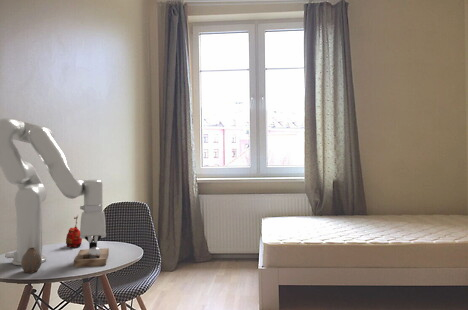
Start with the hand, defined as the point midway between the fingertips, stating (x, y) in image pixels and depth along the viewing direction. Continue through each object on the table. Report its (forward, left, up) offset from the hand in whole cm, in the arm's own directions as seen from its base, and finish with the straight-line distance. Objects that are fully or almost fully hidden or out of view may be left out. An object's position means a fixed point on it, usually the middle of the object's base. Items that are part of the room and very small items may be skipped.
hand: (93, 251), depth 172 cm
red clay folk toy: (-11, +24, -3) cm, 27 cm away
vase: (-21, -14, -3) cm, 25 cm away
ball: (+1, -6, +1) cm, 6 cm away
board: (0, -3, -3) cm, 4 cm away
